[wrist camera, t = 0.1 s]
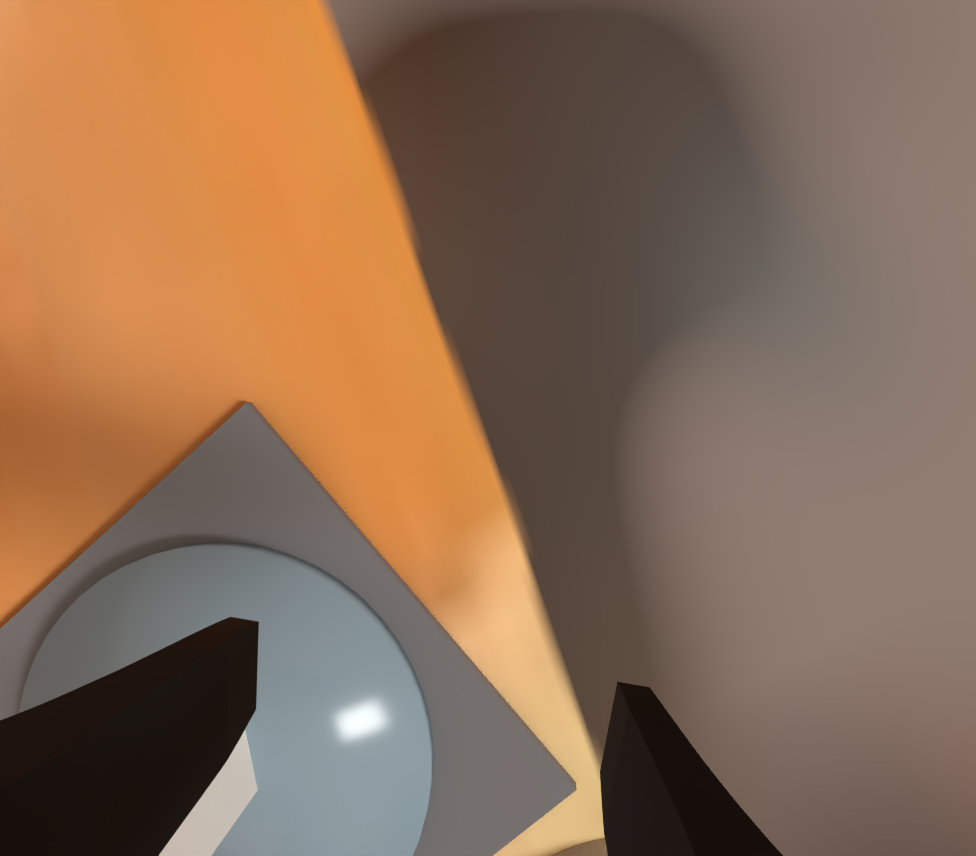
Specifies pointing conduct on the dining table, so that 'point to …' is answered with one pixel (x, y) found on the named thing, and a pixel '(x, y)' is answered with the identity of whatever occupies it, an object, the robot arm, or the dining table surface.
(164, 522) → the mat
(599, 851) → the decorative bowl
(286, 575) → the lid
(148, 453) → the dining table surface
